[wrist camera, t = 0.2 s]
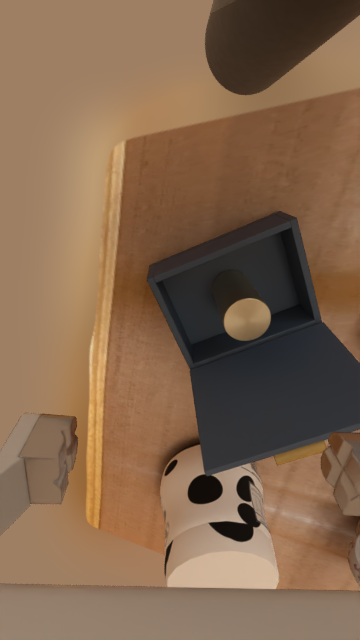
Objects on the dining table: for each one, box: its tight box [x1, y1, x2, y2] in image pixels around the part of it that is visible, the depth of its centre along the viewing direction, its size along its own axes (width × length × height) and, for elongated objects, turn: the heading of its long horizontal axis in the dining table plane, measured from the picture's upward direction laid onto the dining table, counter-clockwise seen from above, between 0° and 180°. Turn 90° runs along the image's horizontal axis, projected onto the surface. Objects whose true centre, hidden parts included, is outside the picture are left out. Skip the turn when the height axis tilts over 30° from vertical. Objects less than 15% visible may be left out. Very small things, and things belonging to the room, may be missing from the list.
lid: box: [190, 322, 360, 476], centre depth 35 cm, size 14×18×5 cm
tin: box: [212, 270, 271, 341], centre depth 38 cm, size 5×5×10 cm
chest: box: [147, 211, 322, 370], centre depth 41 cm, size 14×18×6 cm
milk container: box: [160, 444, 279, 589], centre depth 50 cm, size 17×17×18 cm
